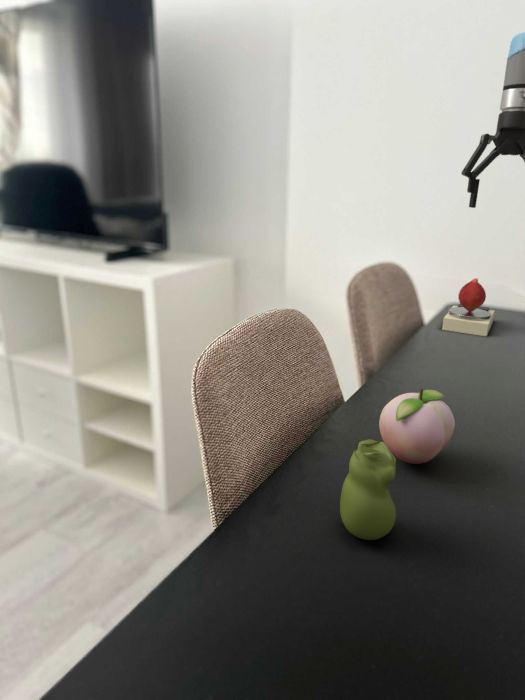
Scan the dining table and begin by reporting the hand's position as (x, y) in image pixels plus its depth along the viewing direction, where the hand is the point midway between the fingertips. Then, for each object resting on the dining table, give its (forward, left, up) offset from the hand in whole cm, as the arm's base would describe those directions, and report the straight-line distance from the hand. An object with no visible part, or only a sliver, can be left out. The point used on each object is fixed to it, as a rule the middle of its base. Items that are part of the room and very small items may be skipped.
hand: (500, 208), depth 123 cm
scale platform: (+8, +12, -24) cm, 28 cm away
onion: (+8, +12, -23) cm, 27 cm away
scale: (+7, +11, -27) cm, 30 cm away
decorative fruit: (+33, +75, -27) cm, 86 cm away
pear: (+40, +89, -27) cm, 101 cm away
